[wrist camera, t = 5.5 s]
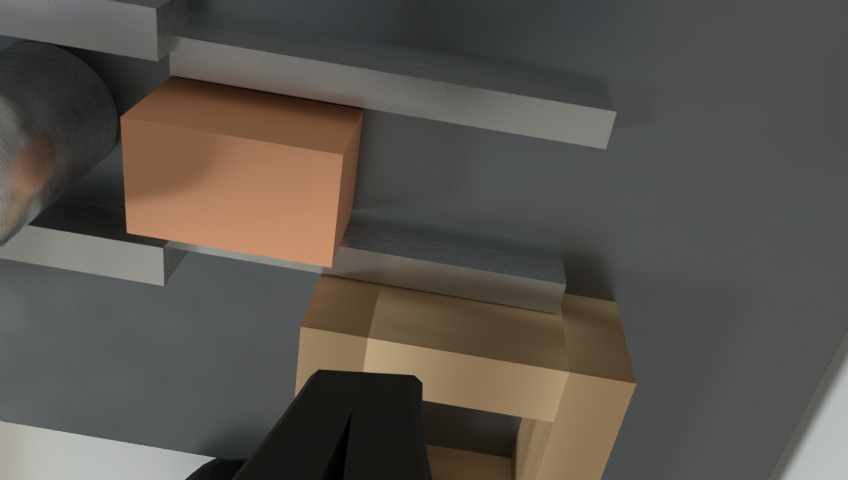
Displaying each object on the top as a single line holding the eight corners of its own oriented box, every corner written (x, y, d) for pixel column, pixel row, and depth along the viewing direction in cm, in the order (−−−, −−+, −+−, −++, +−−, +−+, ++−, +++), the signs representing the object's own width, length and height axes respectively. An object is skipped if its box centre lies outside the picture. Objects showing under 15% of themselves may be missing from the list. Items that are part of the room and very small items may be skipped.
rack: (307, 460, 22) (282, 548, 19) (328, 253, 18) (300, 326, 15) (549, 501, 22) (556, 595, 19) (616, 302, 18) (636, 383, 15)
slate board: (2, 389, 23) (-57, 458, 20) (-113, -285, 14) (-236, -305, 12) (721, 511, 23) (748, 594, 20) (1025, -90, 14) (1132, -70, 12)
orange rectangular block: (173, 181, 17) (127, 233, 15) (170, 77, 16) (120, 116, 14) (351, 211, 17) (332, 267, 15) (363, 110, 16) (343, 155, 14)
